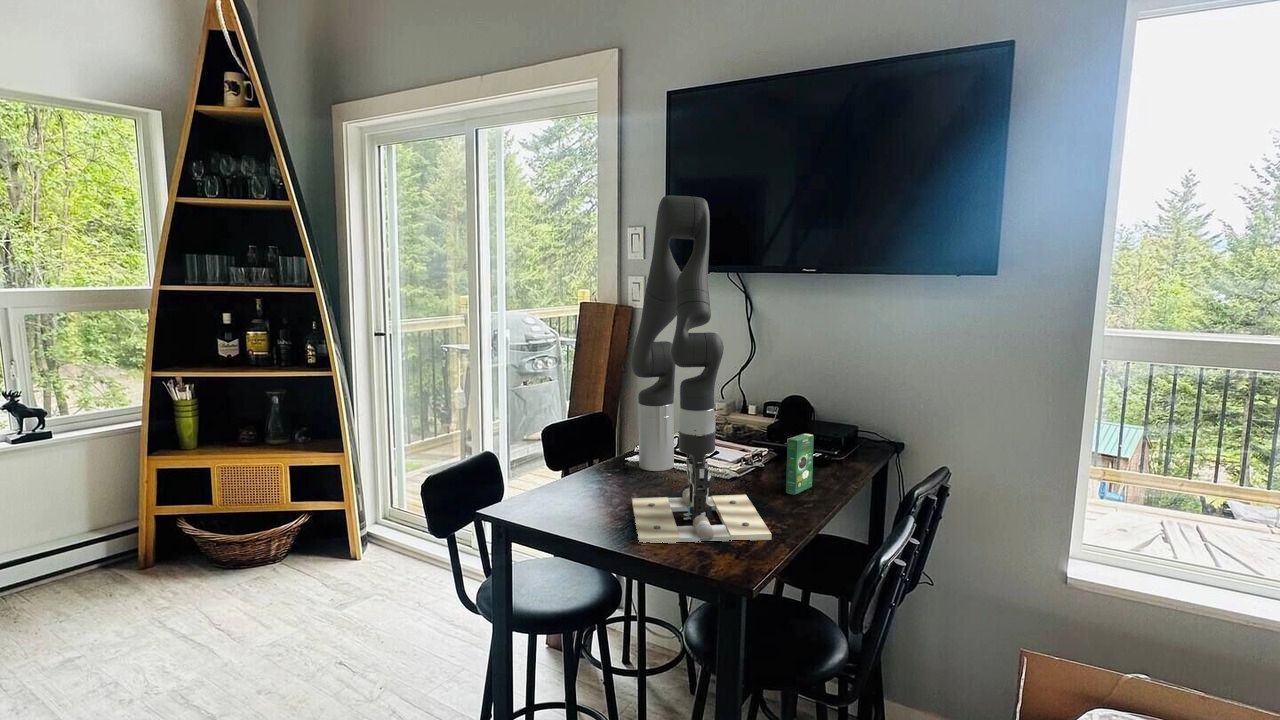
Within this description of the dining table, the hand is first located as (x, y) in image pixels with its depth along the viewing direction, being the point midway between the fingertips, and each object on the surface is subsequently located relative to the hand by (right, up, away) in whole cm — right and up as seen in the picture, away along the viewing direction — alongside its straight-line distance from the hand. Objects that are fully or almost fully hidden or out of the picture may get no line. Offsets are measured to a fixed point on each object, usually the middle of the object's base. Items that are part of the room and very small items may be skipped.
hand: (696, 506), depth 148 cm
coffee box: (+26, 0, +19) cm, 32 cm away
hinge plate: (0, -3, 0) cm, 3 cm away
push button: (0, -3, +1) cm, 3 cm away
